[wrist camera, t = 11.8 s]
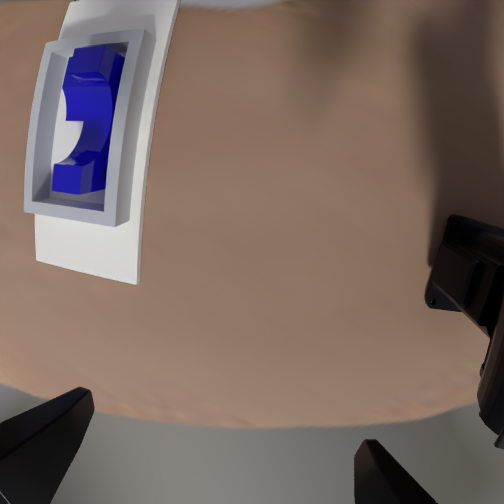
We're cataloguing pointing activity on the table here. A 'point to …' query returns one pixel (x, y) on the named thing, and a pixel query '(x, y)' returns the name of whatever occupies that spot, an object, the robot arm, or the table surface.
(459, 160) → the table surface
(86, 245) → the desk organizer
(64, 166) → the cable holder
